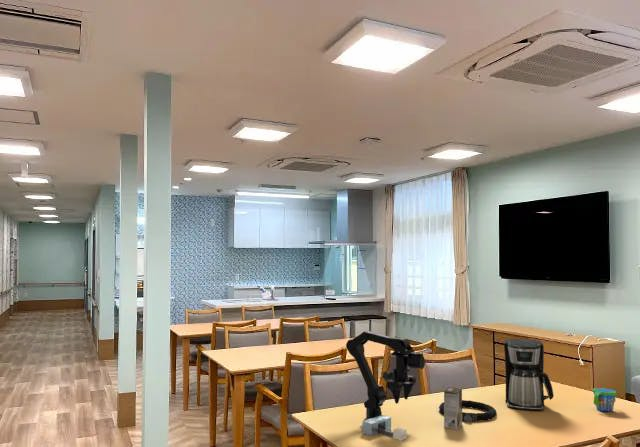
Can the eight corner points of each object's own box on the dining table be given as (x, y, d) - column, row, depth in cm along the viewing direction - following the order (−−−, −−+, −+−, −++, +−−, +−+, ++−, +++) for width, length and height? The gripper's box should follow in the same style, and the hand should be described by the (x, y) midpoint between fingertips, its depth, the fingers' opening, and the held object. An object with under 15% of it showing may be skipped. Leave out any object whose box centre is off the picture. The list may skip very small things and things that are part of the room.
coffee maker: (513, 411, 269) (513, 343, 272) (488, 395, 302) (488, 335, 304) (557, 411, 271) (556, 344, 274) (527, 395, 303) (527, 335, 306)
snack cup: (605, 406, 283) (605, 386, 284) (624, 411, 274) (624, 391, 275) (585, 409, 277) (584, 389, 278) (603, 414, 267) (603, 393, 268)
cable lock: (494, 401, 275) (499, 417, 246) (494, 409, 275) (499, 426, 246) (439, 397, 282) (437, 412, 253) (439, 404, 282) (437, 420, 253)
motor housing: (362, 433, 230) (362, 421, 230) (381, 426, 240) (382, 414, 240) (371, 436, 226) (371, 423, 227) (391, 429, 237) (391, 417, 237)
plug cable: (362, 429, 236) (362, 420, 236) (367, 427, 239) (367, 419, 239) (403, 441, 221) (403, 432, 222) (408, 439, 224) (408, 430, 225)
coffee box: (448, 422, 249) (448, 386, 250) (462, 424, 246) (462, 388, 247) (443, 427, 241) (443, 390, 242) (457, 429, 238) (457, 392, 239)
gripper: (395, 361, 255) (394, 394, 254) (376, 367, 240) (375, 402, 239) (416, 364, 249) (416, 398, 248) (398, 370, 234) (398, 406, 233)
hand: (401, 401), depth 242 cm, fingers open, 9 cm apart
